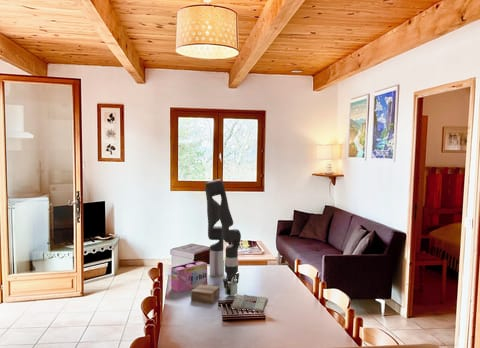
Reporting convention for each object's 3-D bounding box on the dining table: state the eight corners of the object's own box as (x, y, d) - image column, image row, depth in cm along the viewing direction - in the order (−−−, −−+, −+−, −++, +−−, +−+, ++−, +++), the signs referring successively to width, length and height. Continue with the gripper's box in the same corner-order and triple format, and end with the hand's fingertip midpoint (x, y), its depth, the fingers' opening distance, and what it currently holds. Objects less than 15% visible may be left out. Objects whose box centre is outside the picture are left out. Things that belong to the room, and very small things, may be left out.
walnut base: (200, 294, 218) (200, 284, 217) (219, 297, 214) (219, 286, 213) (191, 301, 206) (191, 291, 206) (210, 304, 202) (211, 293, 202)
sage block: (230, 291, 218) (230, 281, 217) (237, 293, 215) (237, 283, 215) (225, 294, 213) (225, 284, 213) (232, 296, 211) (232, 285, 211)
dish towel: (263, 313, 192) (263, 307, 192) (230, 310, 195) (230, 304, 195) (268, 300, 210) (268, 294, 210) (237, 297, 214) (237, 292, 214)
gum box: (201, 280, 241) (201, 259, 241) (209, 283, 236) (209, 262, 235) (170, 289, 225) (170, 267, 224) (178, 292, 219) (178, 270, 218)
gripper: (232, 260, 221) (232, 288, 222) (219, 266, 209) (218, 295, 210) (243, 262, 218) (243, 290, 218) (230, 268, 205) (229, 298, 206)
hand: (231, 293), depth 214 cm, fingers closed on sage block, 5 cm apart
